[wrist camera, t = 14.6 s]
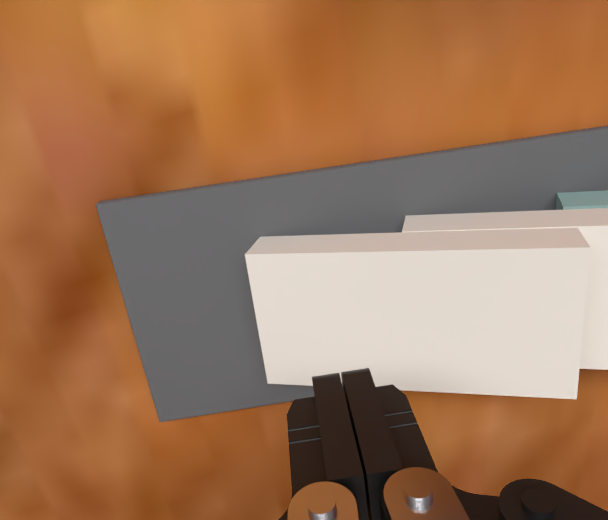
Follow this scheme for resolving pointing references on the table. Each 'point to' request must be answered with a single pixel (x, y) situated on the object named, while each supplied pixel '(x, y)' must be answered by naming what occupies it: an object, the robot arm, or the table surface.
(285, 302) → the domino
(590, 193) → the domino
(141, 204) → the strip
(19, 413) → the table surface
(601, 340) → the domino
